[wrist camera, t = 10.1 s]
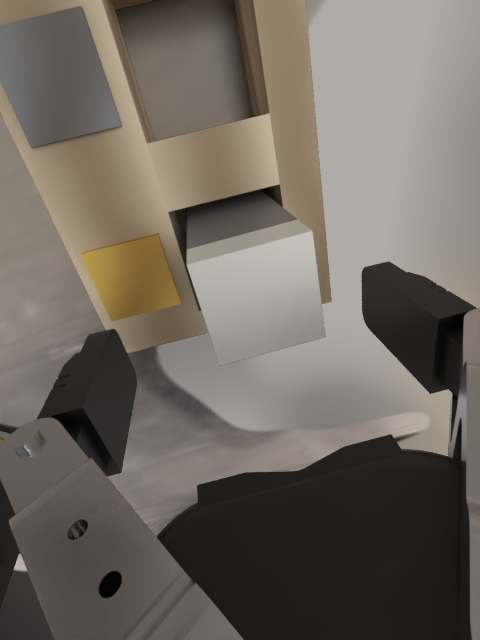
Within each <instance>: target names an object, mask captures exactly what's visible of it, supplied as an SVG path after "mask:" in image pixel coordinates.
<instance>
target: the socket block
mask: <svg viewBox="0 0 480 640" xmlns="http://www.w3.org/2000/svg"><path fill="white" fill-rule="evenodd" d="M151 1H155V0H0V113H1V115H2V117H3V119H4V121H5V123H6V125H7V127H8V129H9V131H10V133H11V135H12V138H13V140H14V142H15V144H16V146H17V148H18V150H19V152H20V154H21V156H22V158H23V160H24V162H25V164H26V166H27V169H28V171H29V173H30V175H31V177H32V179H33V181H34V183H35V185H36V187H37V189H38V191H39V193H40V195H41V198H42V200H43V202H44V204H45V206H46V208H47V210H48V212H49V214H50V216H51V218H52V220H53V222H54V224H55V226H56V229H57V231H58V233H59V235H60V237H61V239H62V241H63V243H64V245H65V247H66V249H67V251H68V253H69V255H70V258H71V260H72V262H73V264H74V266H75V268H76V270H77V272H78V274H79V276H80V278H81V280H82V282H83V284H84V287H85V289H86V291H87V293H88V295H89V297H90V299H91V301H92V303H93V305H94V307H95V309H96V311H97V313H98V315H99V318H100V320H101V322H102V324H103V326H104V328H105V330H109V329H115V330H116V331H117V332H118V334H119V336H120V338H121V340H122V343H123V345H124V347H125V349H126V352H127V353H131V352H135V351H139V350H142V349H146V348H150V347H154V346H158V345H162V344H166V343H170V342H174V341H178V340H182V339H186V338H190V337H194V336H197V335H201V334H205V333H209V331H208V328H207V325H206V322H205V319H204V316H203V313H202V310H201V307H200V304H199V301H198V298H197V295H196V292H195V289H194V286H193V283H192V280H191V277H190V274H189V271H188V268H187V247H186V244H185V241H184V237H183V234H182V231H181V227H180V224H179V221H178V217H177V214H176V211H175V210H178V209H182V208H186V207H190V206H194V205H198V204H202V203H206V202H210V201H215V200H219V199H223V198H227V197H231V196H235V195H239V194H243V193H247V192H251V191H255V190H259V189H263V188H265V190H266V195H267V196H269V197H270V198H271V199H272V200H274V201H275V202H276V203H278V204H279V205H280V206H281V207H283V208H284V209H285V210H286V211H288V212H289V213H290V214H292V215H293V216H294V217H295V218H297V219H298V220H299V221H301V222H302V223H303V224H304V225H306V226H307V227H308V228H309V229H311V230H312V232H313V240H314V247H315V255H316V263H317V271H318V279H319V287H320V295H321V303H322V304H323V303H327V302H331V288H330V277H329V265H328V254H327V242H326V232H325V220H324V208H323V197H322V185H321V174H320V162H319V151H318V139H317V128H316V117H315V106H314V94H313V82H312V71H311V59H310V48H309V36H308V25H307V13H306V2H305V0H234V4H235V10H236V16H237V22H238V28H239V34H240V40H241V46H242V52H243V58H244V64H245V70H246V76H247V82H248V88H249V94H250V100H251V106H252V112H253V117H252V118H248V119H244V120H240V121H236V122H232V123H228V124H224V125H220V126H216V127H212V128H208V129H204V130H199V131H195V132H191V133H187V134H183V135H179V136H175V137H171V138H167V139H163V140H159V141H154V137H153V134H152V131H151V127H150V124H149V121H148V118H147V114H146V111H145V108H144V104H143V101H142V98H141V94H140V91H139V88H138V84H137V81H136V78H135V74H134V71H133V68H132V64H131V61H130V58H129V54H128V51H127V48H126V44H125V41H124V38H123V34H122V31H121V28H120V24H119V21H118V18H117V14H116V11H115V10H117V9H122V8H126V7H130V6H134V5H138V4H142V3H147V2H151Z"/></svg>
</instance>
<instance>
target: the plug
mask: <svg viewBox="0 0 480 640" xmlns="http://www.w3.org/2000/svg"><path fill="white" fill-rule="evenodd" d="M187 268H188V271H189V274H190V277H191V280H192V283H193V286H194V289H195V292H196V295H197V298H198V301H199V304H200V307H201V310H202V313H203V316H204V319H205V322H206V325H207V328H208V331H209V334H210V337H211V340H212V343H213V347H214V350H215V352H216V356H217V358H218V362H219V365H220V366H222V365H225V364H229V363H233V362H236V361H240V360H244V359H247V358H251V357H255V356H258V355H262V354H266V353H269V352H273V351H276V350H280V349H284V348H288V347H291V346H295V345H298V344H302V343H306V342H309V341H313V340H317V339H320V338H324V337H326V335H325V327H324V319H323V311H322V303H321V295H320V287H319V279H318V271H317V263H316V255H315V247H314V240H313V232H312V230H311V229H309V228H308V227H307V226H306V225H304V224H303V223H302V222H301V221H299V220H298V219H297V218H295V217H294V216H293V215H292V214H290V213H289V212H288V211H286V210H285V209H284V208H283V207H281V206H280V205H279V204H278V203H276V202H275V201H274V200H272V199H271V198H270V197H269V196H267V195H266V194H265V193H264V192H262V191H261V190H260V189H259V190H255V191H251V192H247V193H243V194H239V195H235V196H231V197H227V198H223V199H219V200H215V201H210V202H206V203H202V204H198V205H194V206H190V207H187Z"/></svg>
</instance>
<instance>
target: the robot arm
mask: <svg viewBox="0 0 480 640" xmlns="http://www.w3.org/2000/svg"><path fill="white" fill-rule="evenodd" d="M362 312H363V317H364V321H365V323H366V325H367V327H368V328H369V329H370V330H371V332H373V334H374V335H375V336H376V337H377V338H378V339H379V340H380V341H381V342H382V343H383V344H384V345H385V346H386V347H387V349H388V350H390V352H391V353H392V354H393V355H394V356H395V357H396V358H397V359H398V360H399V361H400V362H401V363H402V364H403V365H404V366H405V367H406V369H407V370H408V371H409V372H410V373H411V374H412V375H413V376H414V377H415V378H416V379H417V380H418V381H419V382H420V383H421V384H422V385H423V387H424V388H425V389H426V390H427V391H428V392H429V393H430V394H431V393H435V392H439V391H443V390H447V389H449V390H450V391H451V392H452V397H451V404H450V424H449V444H448V456H444V455H440V454H437V453H433V452H427V451H421V450H409V449H401V448H400V447H399V445H398V444H397V442H396V441H395V439H394V438H393V436H392V435H387V436H383V437H379V438H375V439H372V440H368V441H364V442H360V443H356V444H352V445H349V446H345V447H343V448H341V449H339V450H337V451H335V452H334V453H332V454H330V455H328V456H326V457H324V458H323V459H321V460H319V461H317V462H315V463H313V464H312V465H310V466H308V467H306V468H304V469H302V470H299V471H292V472H248V473H242V474H238V475H234V476H230V477H227V478H223V479H219V480H215V481H211V482H208V483H204V484H200V485H197V492H198V503H196V504H194V505H192V506H191V507H189V508H188V509H186V510H185V511H183V512H182V513H180V514H179V515H178V516H177V517H176V518H175V519H173V520H172V521H171V522H170V523H169V524H168V525H167V526H166V527H165V528H164V529H163V530H162V531H161V532H160V533H159V535H158V536H157V537H156V536H155V535H154V534H153V532H152V531H151V530H150V529H149V527H148V526H147V525H146V524H145V523H144V521H143V520H142V519H141V518H140V516H139V515H138V514H137V513H136V512H135V510H134V509H133V508H132V507H131V505H130V504H129V503H128V502H127V501H126V499H125V498H124V497H123V496H122V494H121V493H120V492H119V491H118V490H117V488H116V487H115V486H114V485H113V483H112V482H111V481H110V480H109V479H108V477H107V476H111V475H114V474H118V473H121V471H122V466H123V460H124V454H125V449H126V443H127V438H128V432H129V426H130V421H131V415H132V410H133V404H134V398H135V393H136V387H137V379H136V374H135V370H134V367H133V365H132V363H131V361H130V358H129V356H128V354H127V352H126V349H125V347H124V345H123V343H122V340H121V338H120V336H119V334H118V332H117V331H116V330H115V329H109V330H105V331H101V332H97V333H93V334H89V335H88V337H87V339H86V341H85V343H84V345H83V348H82V350H81V352H80V353H76V354H75V355H74V356H73V357H72V358H71V359H70V360H69V361H68V362H67V363H66V364H65V365H64V366H63V368H62V370H61V372H60V374H59V376H58V379H57V380H56V382H55V384H54V386H53V389H52V390H51V392H50V394H49V396H48V398H47V400H46V402H45V404H44V406H43V408H42V410H41V412H40V414H39V416H38V418H37V420H34V421H32V422H29V423H27V424H25V425H23V426H22V427H20V428H18V429H17V430H16V431H14V432H13V433H12V434H10V435H9V436H8V437H7V438H6V439H5V440H4V441H3V442H2V443H1V444H0V608H1V605H2V602H3V599H4V596H5V593H6V590H7V587H8V584H9V581H10V578H11V575H12V572H13V569H14V566H15V563H16V560H17V557H18V554H20V553H21V556H22V558H23V561H24V563H25V566H26V568H27V571H28V573H29V575H30V578H31V581H32V583H33V586H34V588H35V591H36V593H37V596H38V598H39V601H40V604H41V606H42V608H43V611H44V614H45V616H46V619H47V621H48V624H49V626H50V629H51V631H52V633H53V636H54V639H55V640H480V308H476V307H474V306H473V305H471V304H469V303H468V302H466V301H464V300H463V299H461V298H459V297H458V296H456V295H454V294H453V293H451V292H449V291H446V289H444V288H442V287H441V286H439V285H436V283H434V282H433V281H431V280H429V279H427V278H426V277H424V276H421V275H417V274H413V273H410V272H405V271H403V270H402V269H400V268H399V267H397V266H396V265H394V264H392V263H391V262H385V263H381V264H376V265H372V266H368V267H365V268H364V269H363V271H362Z"/></svg>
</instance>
